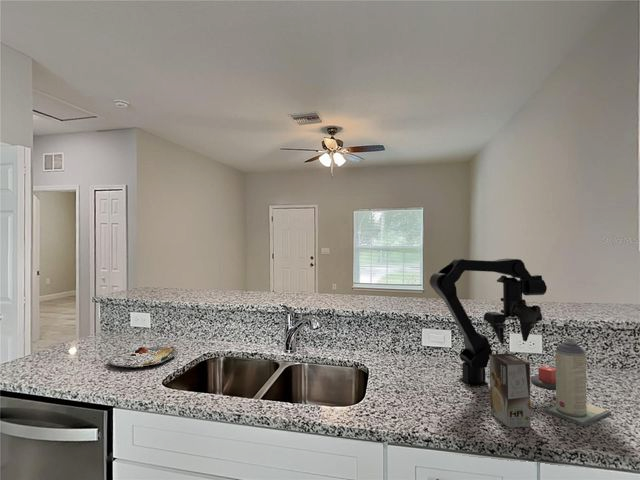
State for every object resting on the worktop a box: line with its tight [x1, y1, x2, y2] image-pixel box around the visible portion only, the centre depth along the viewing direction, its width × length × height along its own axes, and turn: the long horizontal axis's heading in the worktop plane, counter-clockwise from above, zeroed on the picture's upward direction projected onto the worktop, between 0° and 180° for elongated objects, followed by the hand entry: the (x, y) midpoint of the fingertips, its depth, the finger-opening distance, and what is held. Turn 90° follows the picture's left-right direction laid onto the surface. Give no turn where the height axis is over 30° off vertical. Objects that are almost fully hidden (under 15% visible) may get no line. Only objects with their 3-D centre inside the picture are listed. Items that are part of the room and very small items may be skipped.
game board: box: [544, 402, 612, 428], centre depth 102 cm, size 14×10×1 cm
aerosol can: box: [554, 336, 587, 418], centre depth 101 cm, size 7×7×20 cm
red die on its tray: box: [530, 365, 556, 391], centre depth 123 cm, size 10×10×5 cm
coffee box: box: [489, 353, 532, 429], centre depth 99 cm, size 9×6×16 cm
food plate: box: [108, 346, 179, 368], centre depth 151 cm, size 25×23×4 cm
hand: (513, 342), depth 126 cm, fingers open, 9 cm apart
